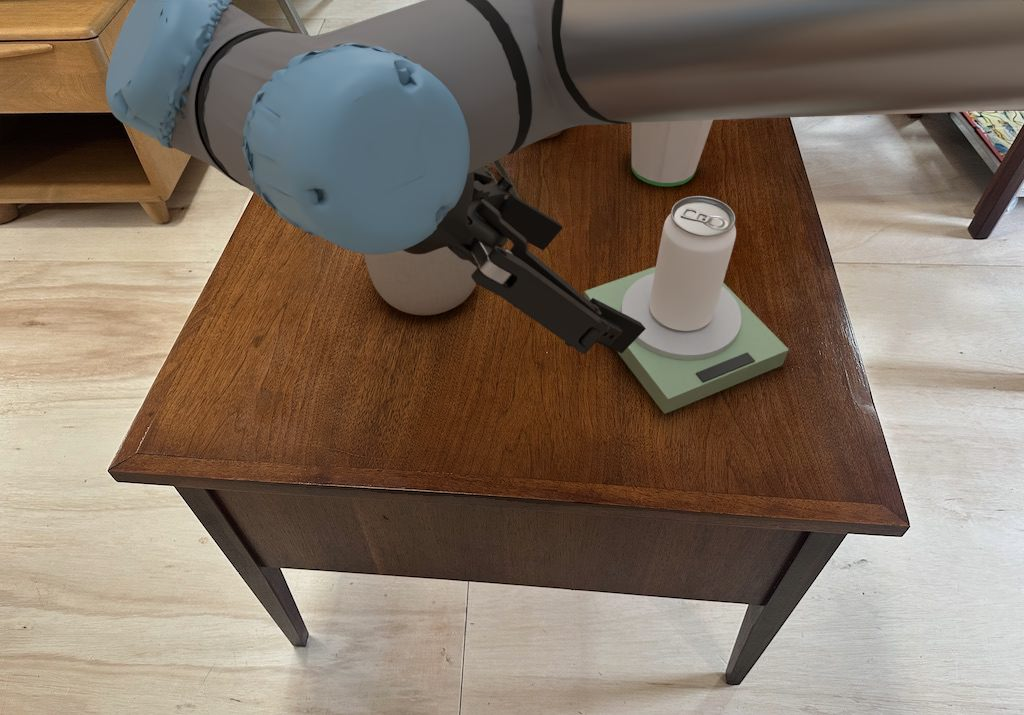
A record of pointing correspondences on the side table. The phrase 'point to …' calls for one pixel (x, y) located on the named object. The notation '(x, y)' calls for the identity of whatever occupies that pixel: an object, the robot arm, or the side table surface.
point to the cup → (667, 150)
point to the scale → (691, 345)
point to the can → (692, 262)
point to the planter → (421, 280)
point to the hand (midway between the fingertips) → (588, 284)
